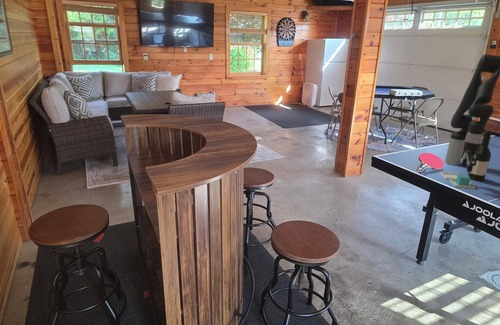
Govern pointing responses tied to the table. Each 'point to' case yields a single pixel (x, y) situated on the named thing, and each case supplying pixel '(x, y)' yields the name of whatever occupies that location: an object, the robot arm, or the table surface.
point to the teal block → (463, 180)
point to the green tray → (462, 186)
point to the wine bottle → (482, 159)
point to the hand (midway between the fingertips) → (466, 169)
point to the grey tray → (449, 175)
